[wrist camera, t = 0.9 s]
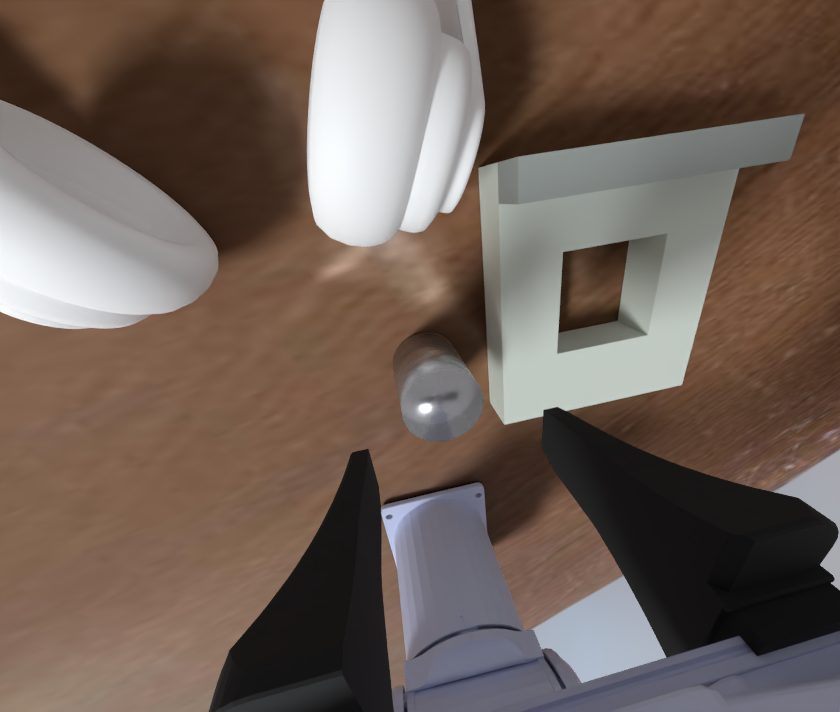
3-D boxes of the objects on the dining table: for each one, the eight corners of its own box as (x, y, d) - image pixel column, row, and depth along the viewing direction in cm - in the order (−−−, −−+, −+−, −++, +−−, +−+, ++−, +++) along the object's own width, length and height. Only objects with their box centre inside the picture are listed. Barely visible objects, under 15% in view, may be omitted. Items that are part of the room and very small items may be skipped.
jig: (651, 367, 23) (711, 402, 19) (490, 402, 22) (518, 446, 18) (699, 134, 17) (805, 113, 13) (478, 167, 16) (518, 156, 12)
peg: (459, 383, 21) (485, 431, 17) (398, 395, 21) (409, 449, 16) (453, 326, 19) (481, 363, 15) (387, 339, 19) (395, 381, 15)
